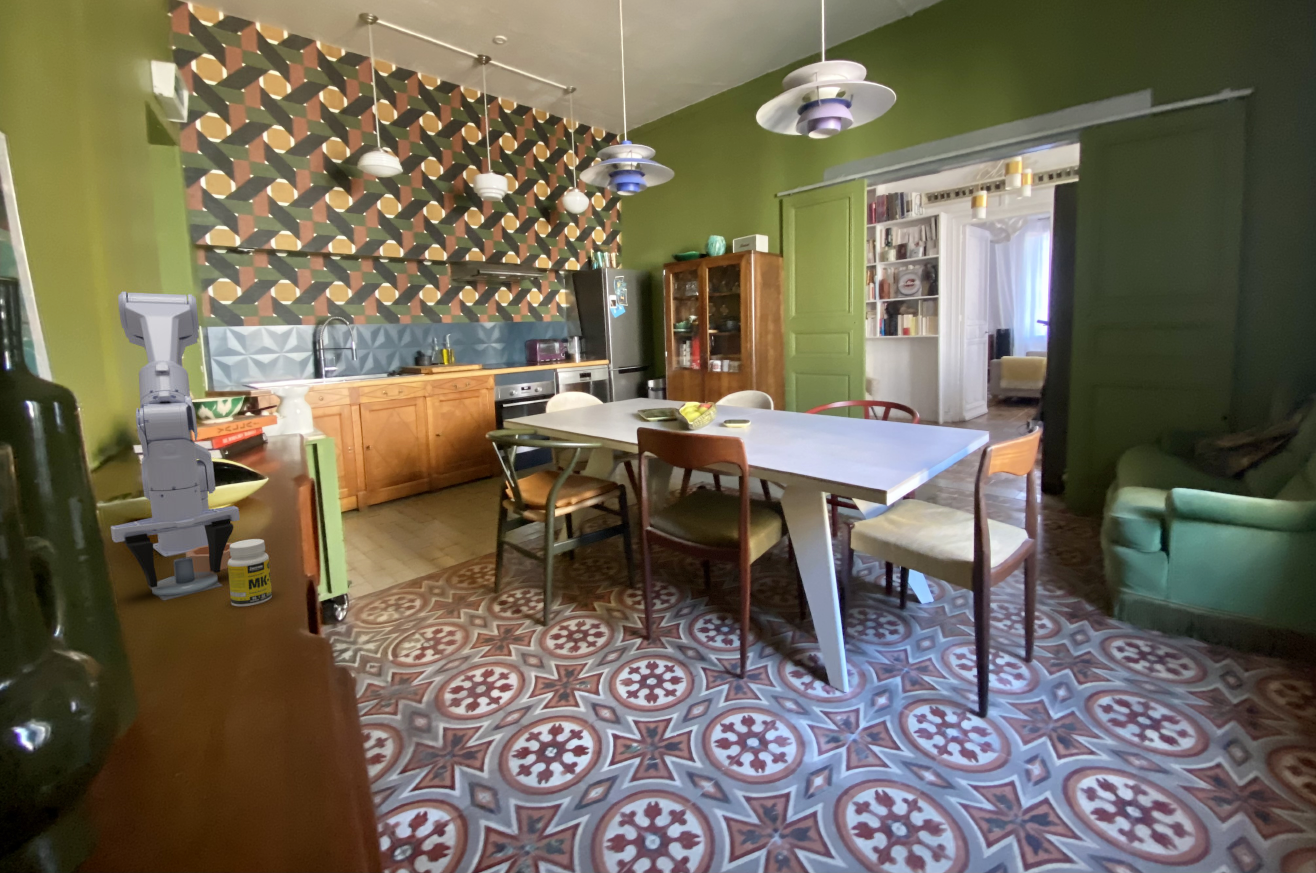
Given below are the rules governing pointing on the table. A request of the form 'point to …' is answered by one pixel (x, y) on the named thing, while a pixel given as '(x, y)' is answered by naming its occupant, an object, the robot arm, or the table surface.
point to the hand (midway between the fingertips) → (185, 578)
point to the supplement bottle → (249, 573)
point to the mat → (189, 593)
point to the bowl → (207, 558)
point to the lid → (184, 580)
